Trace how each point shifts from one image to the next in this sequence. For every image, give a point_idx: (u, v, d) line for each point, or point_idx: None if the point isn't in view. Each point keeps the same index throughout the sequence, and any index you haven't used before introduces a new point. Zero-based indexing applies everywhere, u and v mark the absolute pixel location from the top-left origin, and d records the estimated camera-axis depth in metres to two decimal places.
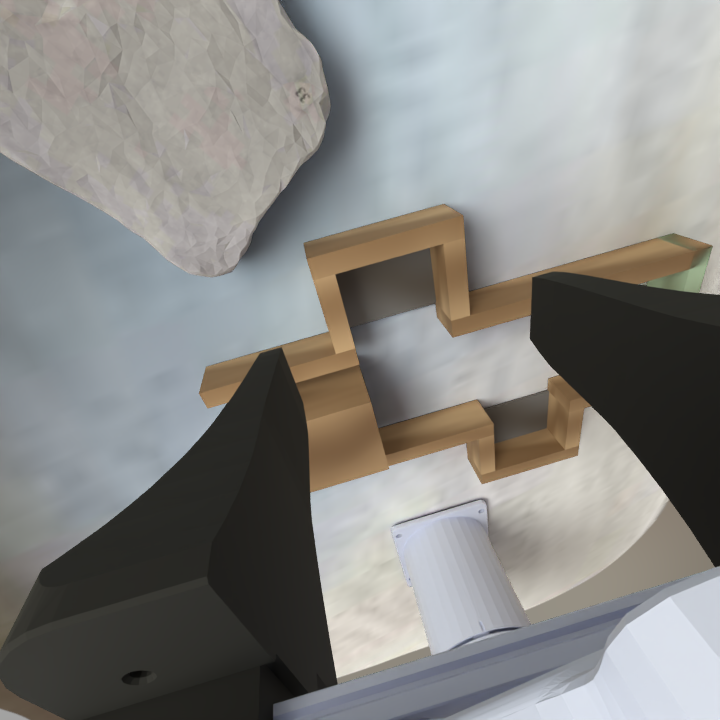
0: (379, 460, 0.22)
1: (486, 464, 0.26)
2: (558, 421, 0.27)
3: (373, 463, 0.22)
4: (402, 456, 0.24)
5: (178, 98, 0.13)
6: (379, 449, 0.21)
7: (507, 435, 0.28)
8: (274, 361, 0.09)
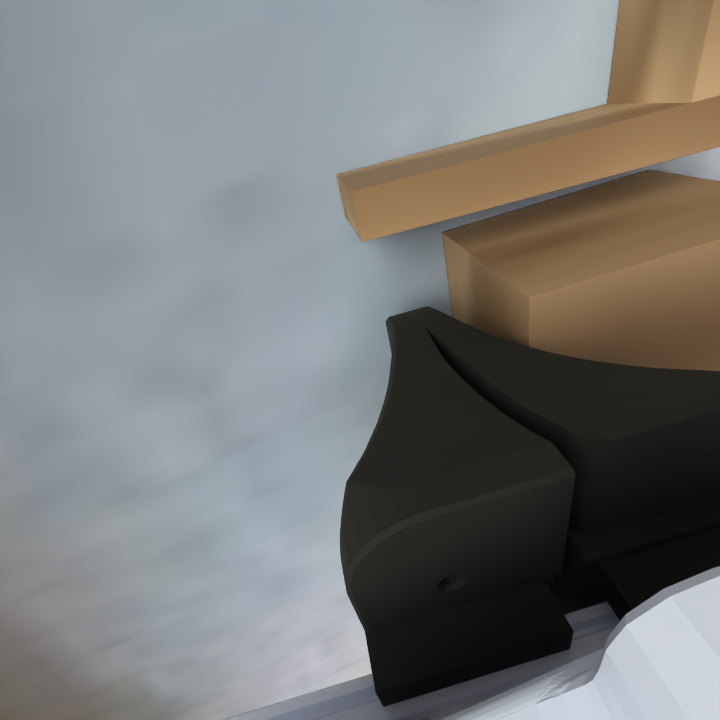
0: None
1: None
2: None
3: None
4: None
5: None
6: None
7: None
8: (417, 321, 0.10)
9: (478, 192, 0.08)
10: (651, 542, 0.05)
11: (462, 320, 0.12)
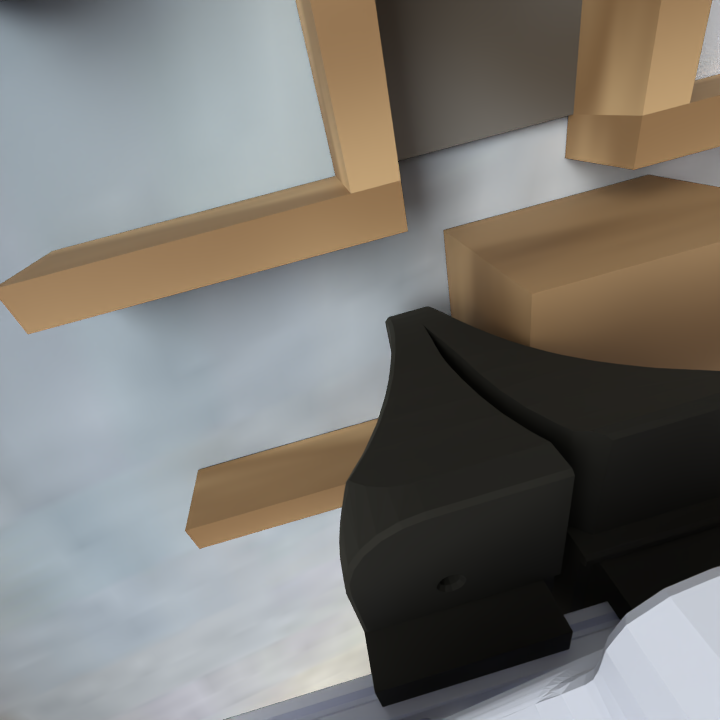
0: None
1: None
2: None
3: None
4: None
5: None
6: None
7: None
8: (417, 321, 0.10)
9: (142, 284, 0.08)
10: (651, 542, 0.05)
11: (461, 319, 0.11)
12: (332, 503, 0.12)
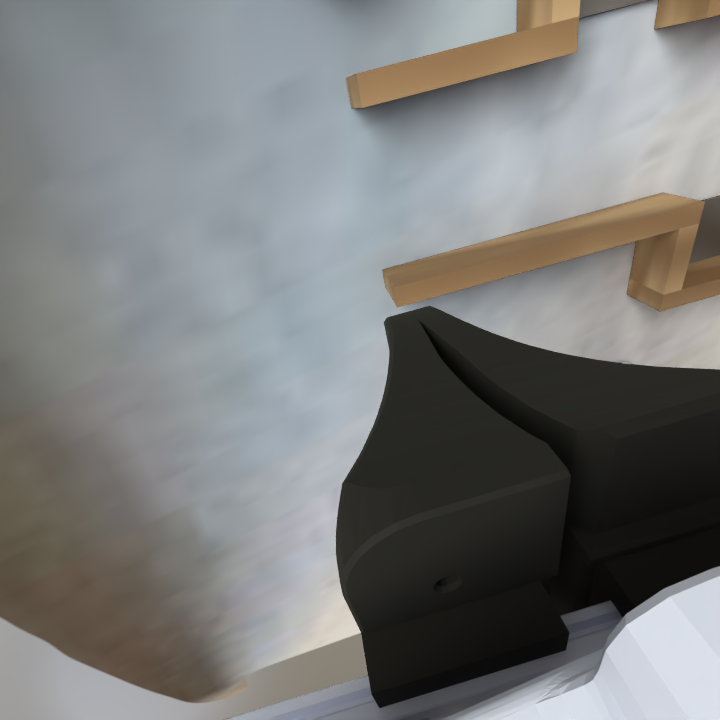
0: None
1: (674, 276, 0.20)
2: None
3: None
4: (583, 246, 0.18)
5: None
6: None
7: None
8: (415, 322, 0.10)
9: (429, 77, 0.14)
10: (654, 541, 0.05)
11: None
12: (487, 276, 0.18)
